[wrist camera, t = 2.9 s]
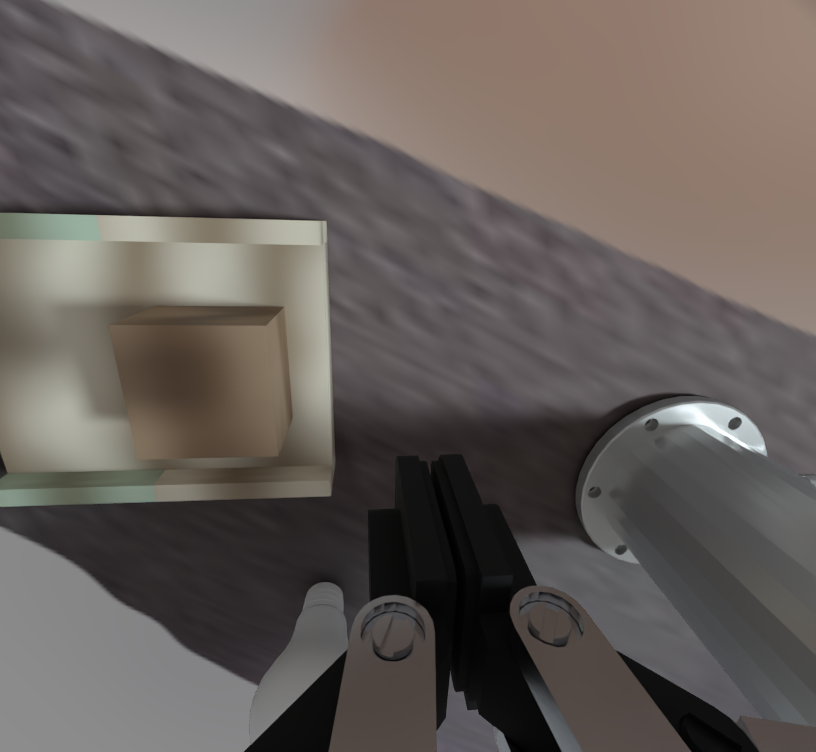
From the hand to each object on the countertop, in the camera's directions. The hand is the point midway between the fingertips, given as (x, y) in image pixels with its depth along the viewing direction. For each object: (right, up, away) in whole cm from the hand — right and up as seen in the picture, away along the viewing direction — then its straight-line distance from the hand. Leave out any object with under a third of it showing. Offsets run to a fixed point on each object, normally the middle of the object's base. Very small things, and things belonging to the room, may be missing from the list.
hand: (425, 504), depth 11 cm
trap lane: (-17, +4, +12) cm, 21 cm away
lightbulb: (-6, -11, +19) cm, 23 cm away
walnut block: (-10, +4, +11) cm, 15 cm away
